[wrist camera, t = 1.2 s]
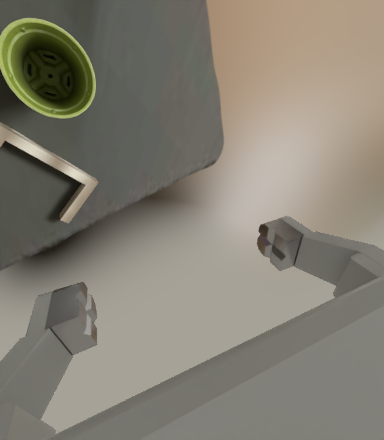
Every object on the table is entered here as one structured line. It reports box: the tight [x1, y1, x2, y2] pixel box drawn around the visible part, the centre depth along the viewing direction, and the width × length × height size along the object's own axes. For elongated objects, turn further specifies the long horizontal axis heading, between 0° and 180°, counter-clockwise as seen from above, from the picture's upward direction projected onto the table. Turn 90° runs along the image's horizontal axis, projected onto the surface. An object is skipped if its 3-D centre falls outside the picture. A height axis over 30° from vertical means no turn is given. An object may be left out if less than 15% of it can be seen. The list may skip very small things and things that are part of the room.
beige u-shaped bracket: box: [0, 122, 98, 223], centre depth 35 cm, size 15×10×2 cm, turn 44°
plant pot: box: [0, 18, 96, 118], centre depth 27 cm, size 9×9×9 cm
